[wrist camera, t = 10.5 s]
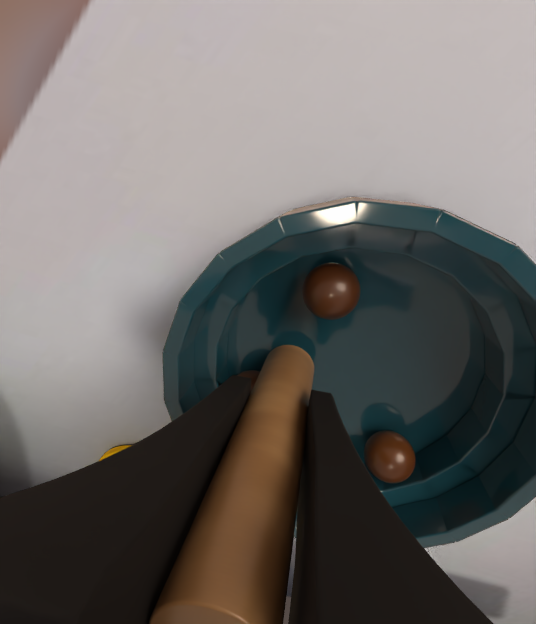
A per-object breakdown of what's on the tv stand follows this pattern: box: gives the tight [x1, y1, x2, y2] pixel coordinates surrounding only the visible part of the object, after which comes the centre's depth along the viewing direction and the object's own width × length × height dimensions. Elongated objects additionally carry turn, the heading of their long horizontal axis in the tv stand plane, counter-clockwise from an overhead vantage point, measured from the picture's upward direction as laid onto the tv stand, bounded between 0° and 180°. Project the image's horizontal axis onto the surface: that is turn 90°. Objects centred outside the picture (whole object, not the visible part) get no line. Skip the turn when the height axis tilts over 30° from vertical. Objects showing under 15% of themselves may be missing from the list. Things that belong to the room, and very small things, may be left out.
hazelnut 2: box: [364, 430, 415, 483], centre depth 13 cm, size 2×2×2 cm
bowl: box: [163, 197, 536, 548], centre depth 12 cm, size 13×13×4 cm
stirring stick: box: [149, 345, 314, 624], centre depth 9 cm, size 2×2×9 cm
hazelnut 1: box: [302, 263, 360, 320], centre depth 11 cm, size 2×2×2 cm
